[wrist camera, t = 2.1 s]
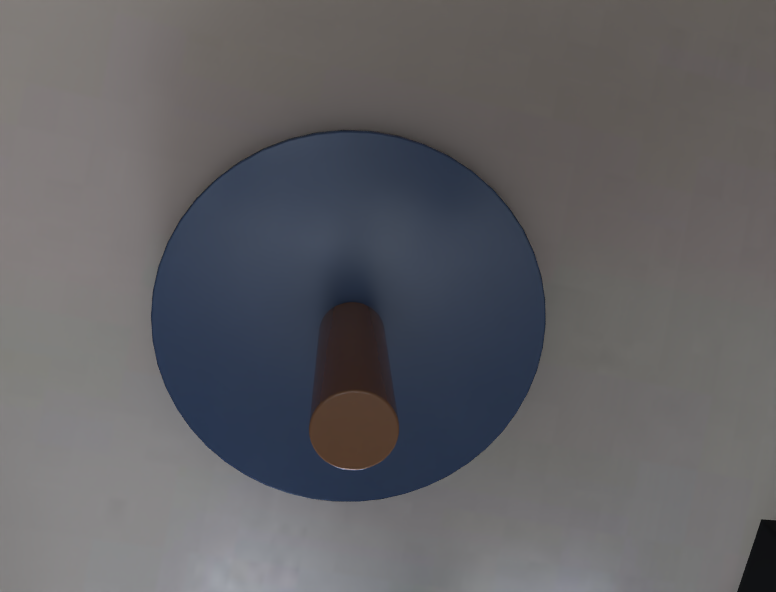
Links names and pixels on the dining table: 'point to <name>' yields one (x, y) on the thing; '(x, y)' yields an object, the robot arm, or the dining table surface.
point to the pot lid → (348, 316)
